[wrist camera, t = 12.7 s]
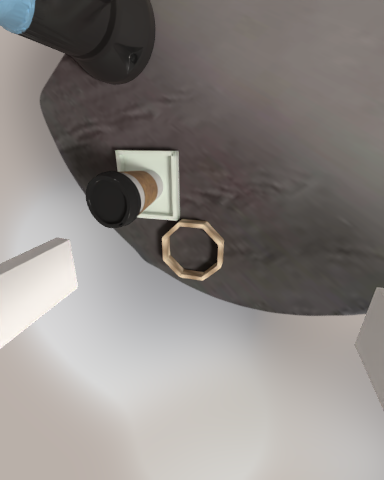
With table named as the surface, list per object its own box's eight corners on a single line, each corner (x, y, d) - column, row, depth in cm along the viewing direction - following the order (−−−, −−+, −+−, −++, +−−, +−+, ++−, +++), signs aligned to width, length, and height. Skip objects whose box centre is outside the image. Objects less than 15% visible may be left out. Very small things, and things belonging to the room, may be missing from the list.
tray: (120, 149, 48) (115, 150, 46) (178, 150, 45) (175, 151, 43) (127, 213, 53) (122, 216, 51) (180, 217, 50) (176, 220, 48)
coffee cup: (145, 212, 51) (104, 239, 38) (122, 177, 49) (70, 191, 36) (177, 193, 47) (144, 215, 34) (154, 154, 46) (109, 161, 32)
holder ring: (164, 217, 51) (161, 220, 49) (224, 222, 48) (223, 226, 46) (167, 270, 56) (163, 274, 54) (221, 277, 53) (220, 283, 51)
